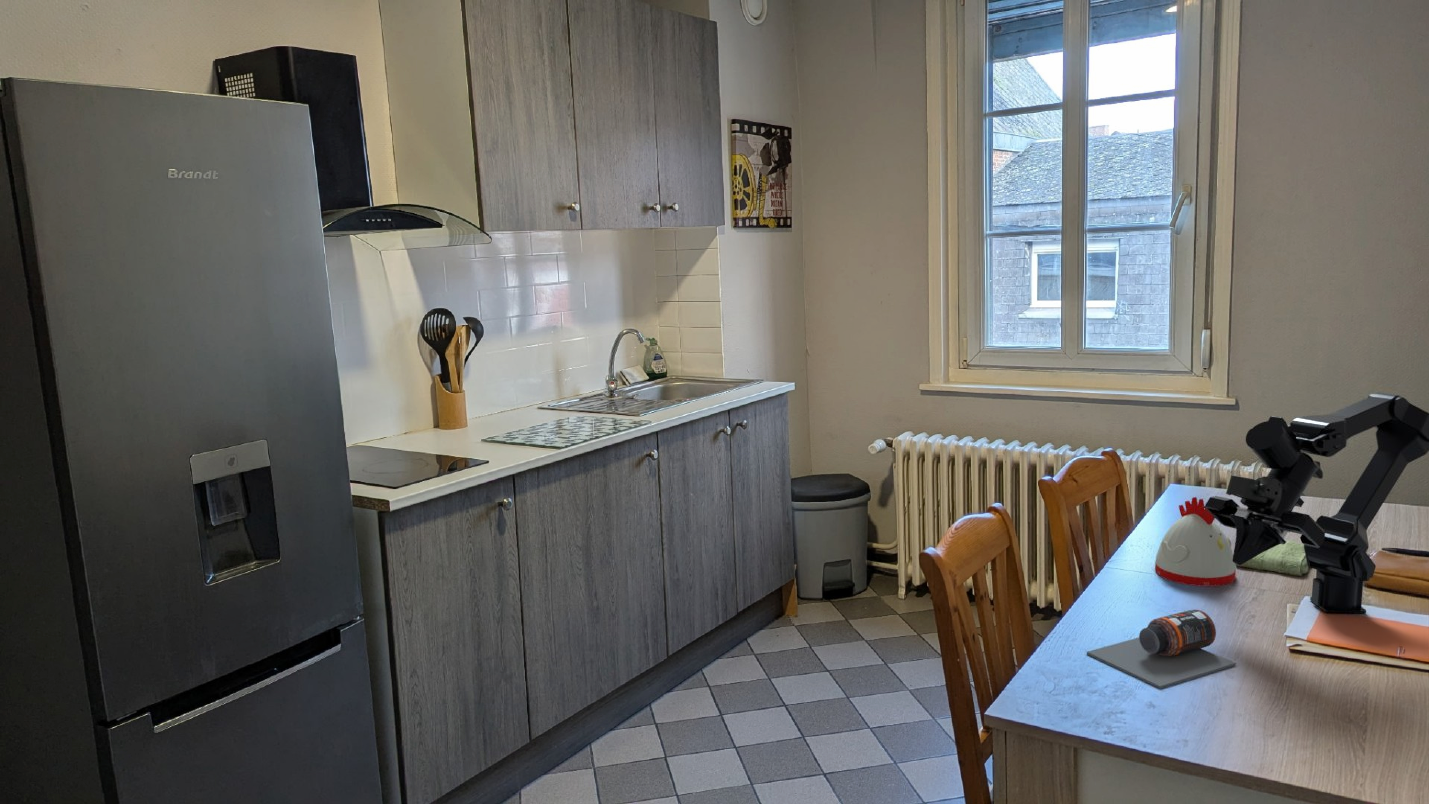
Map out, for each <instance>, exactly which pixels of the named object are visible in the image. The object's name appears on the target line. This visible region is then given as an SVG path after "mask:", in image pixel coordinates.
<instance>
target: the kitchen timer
mask: <svg viewBox="0 0 1429 804" xmlns="http://www.w3.org/2000/svg"><path fill="white" fill-rule="evenodd" d="M1184 505H1185V506H1184ZM1204 506H1205V503H1204V498H1200V499H1198V498H1197V496H1193V497H1192V498H1191V502H1190V500H1186V501H1184V504H1180V505H1178V509H1179V513H1180V516H1181V517H1180V518H1179V519H1177V520H1175V522H1174V523H1173V524H1172V525H1171V526H1170V527H1169V528H1168V530H1167V531H1166V533H1165V534H1164V536H1163V538H1162V539H1161V542H1160V545H1159V548H1158V550H1157V553H1156V556H1155V561H1154V571H1155V573H1156V574H1157V575H1158V574H1159V576H1160V577H1161V578H1163V577H1164V579H1166V580H1167V581H1171V580H1172V582H1175V583H1179V584H1183V585H1184V584H1185V585H1188V586H1189V585H1191V586H1198V585H1200V587H1217V586H1223V585H1227V584H1231V583H1232V582H1234V581H1235V579H1236V572H1237V571H1236V570H1237V568H1236V566H1237V565H1236V564H1235V563H1234V562H1233V554H1234V552H1233V550H1232V541H1231V539H1230V537H1228V536H1227V535H1226V534H1225V532H1224V531H1223V529H1221V527H1220V526H1219V525H1218V524H1217V522H1215V520H1216V518H1215V517H1214V516H1212V515H1211V514H1210V513H1209V512H1208V511H1207V510H1206V509H1205V508H1204Z"/></svg>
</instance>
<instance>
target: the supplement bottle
mask: <svg viewBox="0 0 1429 804" xmlns="http://www.w3.org/2000/svg"><path fill="white" fill-rule="evenodd" d="M1148 623H1149V624H1148V625H1147V627H1144V628H1142V629H1141V630H1140V631H1139V634H1138V635H1139V636H1138V638H1139V640H1140V643H1141V646H1142V647H1143V649H1144V650H1145V651H1146V652H1148V653H1150V654H1155V653H1158V654H1159V655H1161V656H1165V657H1169V656H1174V655H1178V654H1182V653H1186V652H1189V651H1193V650H1197V649H1203V648H1206V647H1209V646H1211V645H1213V643H1214V642H1215V640H1216V635H1217V630H1216V625H1215V623H1214V621H1213V620H1212V618H1211V616H1209V615H1208V613H1206V612H1205V611H1203V610H1200V609H1190V610H1184V611H1181V612H1177V613H1173V614H1170V615H1169V614H1168V615H1165V616H1161V617H1157V618H1154V619H1153V620H1151V621H1150V622H1148Z"/></svg>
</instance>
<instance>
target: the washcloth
mask: <svg viewBox="0 0 1429 804" xmlns="http://www.w3.org/2000/svg"><path fill="white" fill-rule="evenodd" d="M1284 540H1285V541H1286V543H1285V544H1279V545H1277V546H1275V547H1273V548H1271V549H1269V550H1267V551H1265V552H1263V553H1261V554H1259V555H1257V556H1256V557H1254V558H1252V559H1250V560H1249V561H1247V562H1245V563H1243V564H1242V565H1236V566H1237V567H1238V568H1246V569H1247V568H1249V569H1254V570H1256V571H1257V570H1259V571H1270V572H1276V573H1278V574H1285V575H1290V576H1296V577H1297V576H1299V577H1300V576H1303V575H1304V574H1307V573H1308V572H1309V568H1308V565H1307V560H1306V555H1305V550H1304V544H1303V543H1301V542H1296V541H1293V540H1287V539H1284Z"/></svg>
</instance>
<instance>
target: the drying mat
mask: <svg viewBox="0 0 1429 804" xmlns="http://www.w3.org/2000/svg"><path fill="white" fill-rule="evenodd" d="M1086 655H1088V656H1090V657H1091V658H1094V659H1096V660H1098V661H1101V662H1103V663H1104V664H1107V665H1109V666H1111V667H1113V668H1115V669H1118V670H1120V671H1121V672H1124V673H1126V674H1127V675H1130V676H1132V677H1135V678H1136V679H1139V680H1140V681H1143V682H1145V683H1148V684H1149V685H1151V686H1154V687H1155V688H1158V689H1160V690H1161V689H1164V688H1167V687H1170V686H1174V685H1177V684H1179V683H1183V682H1187V681H1189V680H1192V679H1196V678H1199V677H1202V676H1206V675H1208V674H1211V673H1216V672H1219V671H1222V670H1224V669H1228V668H1232V667H1235V666H1236V662H1234V661H1232V660H1230V659H1228V658H1225V657H1223V656H1219V654H1218V655H1217V654H1215V653H1212V652H1210V651H1208V650H1206V649H1203V648H1201V649H1197V650H1193V651H1189V652H1186V653H1182V654H1178V655H1174V656H1169V657H1165V656H1161V655H1159V654H1158V653H1155V654H1150V653H1148V652H1146V651H1145V650H1144V649H1143V647H1142V646H1141V643H1140V640H1139V637H1136V638H1132V639H1129V640H1128V639H1127V640H1125V641H1121V642H1117V643H1115V644H1114V643H1113V644H1109V645H1107V646H1104V647H1099V648H1095V649H1092V650H1088V651H1086Z"/></svg>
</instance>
